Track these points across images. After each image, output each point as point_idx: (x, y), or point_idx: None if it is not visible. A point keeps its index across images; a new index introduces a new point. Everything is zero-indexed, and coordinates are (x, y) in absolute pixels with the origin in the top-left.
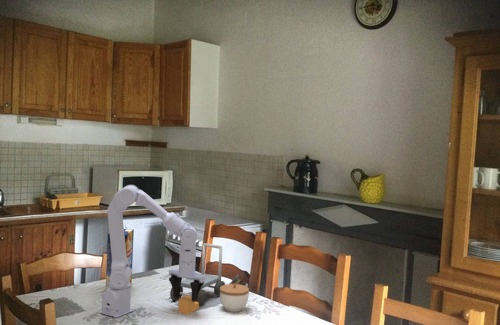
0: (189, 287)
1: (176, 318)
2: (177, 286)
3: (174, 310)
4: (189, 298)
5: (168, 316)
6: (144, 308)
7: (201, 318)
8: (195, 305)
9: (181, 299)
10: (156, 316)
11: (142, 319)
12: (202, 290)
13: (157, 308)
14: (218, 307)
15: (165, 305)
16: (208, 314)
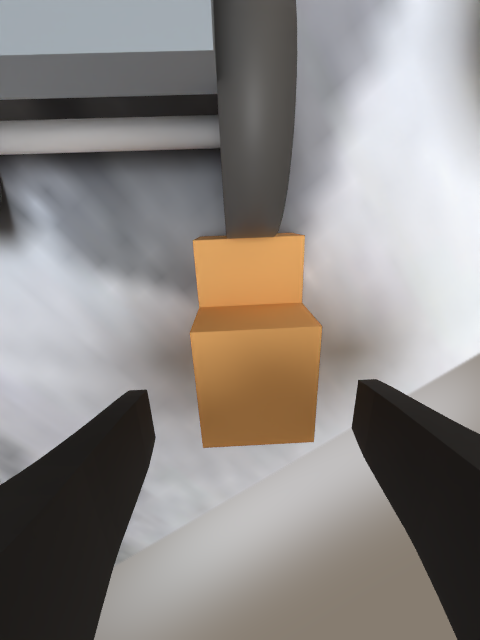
0: (11, 89)
1: (272, 446)
2: (94, 539)
3: (170, 365)
4: (285, 385)
5: (216, 450)
6: (10, 444)
7: (400, 367)
8: (299, 290)
9: (237, 445)
10: (166, 482)
11: (147, 534)
12: (292, 39)
13: (62, 402)
14: (427, 65)
15: (45, 330)
16: (413, 282)
